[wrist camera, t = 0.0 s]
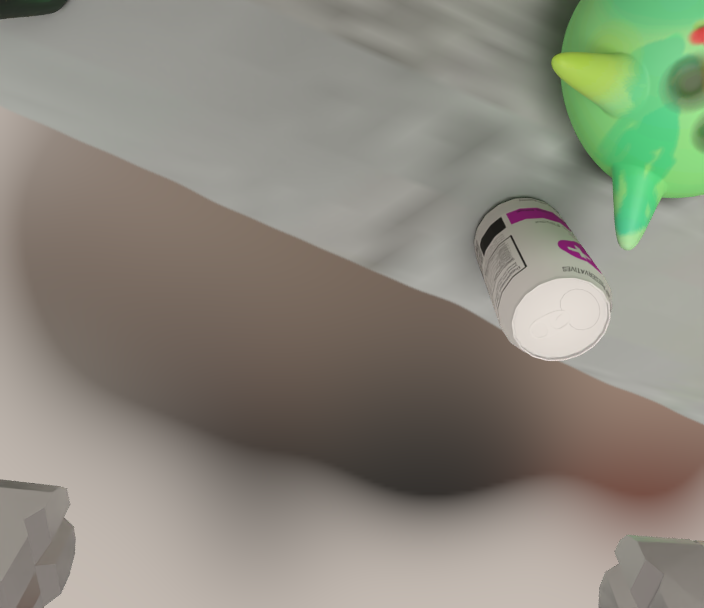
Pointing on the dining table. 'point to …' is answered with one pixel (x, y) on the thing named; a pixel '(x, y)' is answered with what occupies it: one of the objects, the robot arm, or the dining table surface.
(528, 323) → the supplement can
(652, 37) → the toy bird
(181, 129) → the dining table surface
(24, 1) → the coffee jar
